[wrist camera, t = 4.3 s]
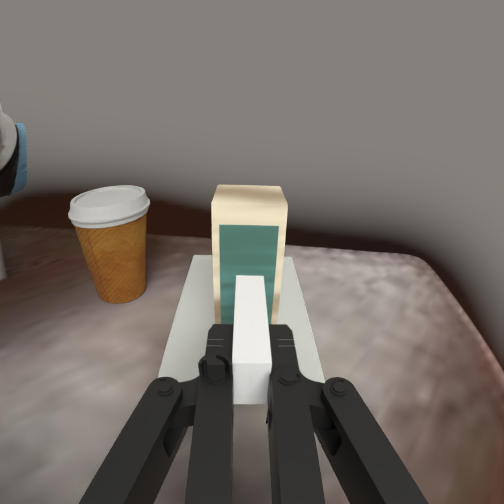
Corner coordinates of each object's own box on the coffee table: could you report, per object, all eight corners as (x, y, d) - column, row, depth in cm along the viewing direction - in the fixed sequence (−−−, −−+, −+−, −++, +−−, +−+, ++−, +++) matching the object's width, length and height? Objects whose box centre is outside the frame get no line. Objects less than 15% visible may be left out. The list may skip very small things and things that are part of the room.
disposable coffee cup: (133, 263, 42) (123, 180, 37) (174, 289, 37) (166, 192, 31) (75, 288, 35) (56, 199, 30) (108, 323, 30) (84, 216, 25)
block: (273, 359, 26) (287, 205, 20) (216, 358, 26) (211, 203, 20) (269, 323, 31) (280, 186, 25) (220, 323, 31) (218, 184, 25)
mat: (326, 393, 23) (327, 390, 23) (156, 390, 23) (155, 387, 23) (291, 259, 45) (291, 257, 45) (194, 257, 44) (194, 254, 44)
